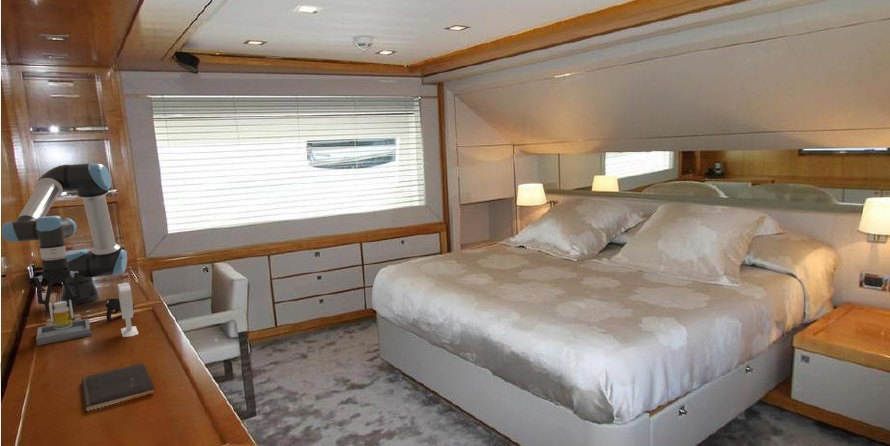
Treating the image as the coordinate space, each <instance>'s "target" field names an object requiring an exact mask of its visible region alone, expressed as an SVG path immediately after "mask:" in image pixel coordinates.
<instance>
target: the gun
mask: <svg viewBox="0 0 890 446" xmlns="http://www.w3.org/2000/svg"><path fill="white" fill-rule="evenodd" d="M105 301H106V302H105V307H106V308H107V309H106V321H107V322H113V319H112V314H117V313H118V312H120V313H121V307H120V301H119V297H117V298H106V300H105ZM135 309H136V308H135V303H133V312H134V310H135Z"/></svg>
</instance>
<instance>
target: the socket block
mask: <svg viewBox="0 0 890 446" xmlns="http://www.w3.org/2000/svg"><path fill="white" fill-rule="evenodd" d="M81 315H82V314H81V313H75V314H74V313H73V316H74V318H71V319H72V322H73V321H78V320H82V316H81ZM50 325H54V322H51V318H47V319H46V325H45V326H50Z"/></svg>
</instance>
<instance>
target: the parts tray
mask: <svg viewBox="0 0 890 446" xmlns="http://www.w3.org/2000/svg"><path fill="white" fill-rule="evenodd" d="M89 319H90V318H84V319H81V320H78V321H73V322H72V326H71V327H69V328H66V329H60V330H58V329H55V325H50V326H46V325H45V326H40V327H37V332H36V345H37V346H42V345H46V344H52V343H58V342H63V341H69V340H74V339H78V338H83V337H89V336H92V332H91V326H90V320H89Z"/></svg>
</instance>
